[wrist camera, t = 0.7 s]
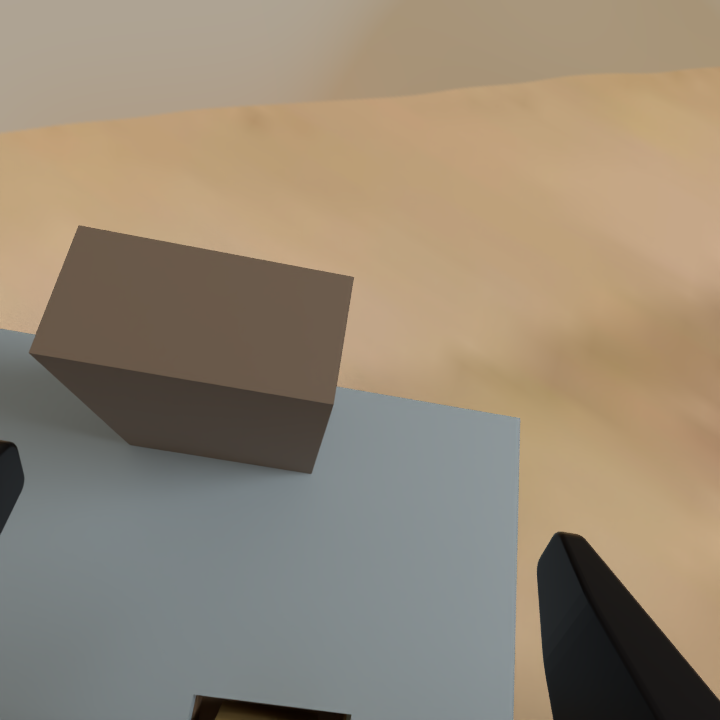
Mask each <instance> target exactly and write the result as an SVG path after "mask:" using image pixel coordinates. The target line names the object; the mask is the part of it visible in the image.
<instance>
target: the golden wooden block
mask: <svg viewBox="0 0 720 720" xmlns="http://www.w3.org/2000/svg"><path fill="white" fill-rule="evenodd" d="M215 720H318V717H317V714H316V712H311V711H303V710H295V709H287V708H279V707H271V706H263V705H255V704H247V703H239V702H231V701H223V703H222V705H221V707H220V709H219V712H218V714H217V716H216V718H215Z"/></svg>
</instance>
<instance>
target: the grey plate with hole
mask: <svg viewBox="0 0 720 720" xmlns="http://www.w3.org/2000/svg"><path fill="white" fill-rule="evenodd" d="M353 280H354V277H351V276H345V275H340V274H335V273H329V272H324V271H319V270H313V269H308V268H303V267H297V266H292V265H287V264H281V263H276V262H271V261H265V260H260V259H255V258H249V257H244V256H239V255H234V254H228V253H223V252H218V251H212V250H207V249H202V248H196V247H191V246H186V245H180V244H175V243H170V242H164V241H159V240H154V239H148V238H143V237H138V236H132V235H127V234H122V233H117V232H111V231H106V230H101V229H95V228H90V227H85V226H78V228H77V231H76V234H75V236H74V239H73V241H72V244H71V246H70V249H69V251H68V254H67V256H66V259H65V261H64V264H63V267H62V269H61V272H60V274H59V277H58V279H57V282H56V284H55V287H54V289H53V292H52V294H51V297H50V299H49V302H48V305H47V307H46V310H45V312H44V315H43V317H42V320H41V322H40V325H39V327H38V330H37V332H36V335H34V334H28V333H22V332H17V331H11V330H5V329H0V440H4V441H10V442H13V443H14V444H15V445H16V446H17V448H18V452H19V456H20V460H21V464H22V468H23V472H24V486H23V489H22V492H21V494H20V496H19V498H18V500H17V502H16V504H15V506H14V508H13V510H12V512H11V514H10V516H9V518H8V520H7V523H6V525H5V527H4V529H3V531H2V533H1V535H0V720H191V718H192V713H193V708H194V704H195V699H196V695H201V696H209V697H217V698H225V699H233V700H241V701H249V702H257V703H265V704H272V705H280V706H288V707H296V708H304V709H312V710H320V711H328V712H336V713H344V714H347V716H346V720H513V709H514V665H515V622H516V579H517V535H518V492H519V448H520V418H516V417H510V416H504V415H498V414H493V413H487V412H481V411H475V410H469V409H464V408H458V407H452V406H446V405H440V404H435V403H429V402H423V401H417V400H411V399H406V398H400V397H394V396H388V395H382V394H377V393H371V392H365V391H359V390H353V389H348V388H342V387H337V381H338V374H339V368H340V362H341V355H342V349H343V343H344V336H345V330H346V324H347V317H348V311H349V305H350V299H351V292H352V286H353Z"/></svg>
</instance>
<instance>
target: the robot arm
mask: <svg viewBox="0 0 720 720" xmlns="http://www.w3.org/2000/svg"><path fill="white" fill-rule="evenodd" d="M23 486H24V472H23V468H22V464H21V460H20V456H19V452H18V448H17V446H16V445H15V444H14V443H13V442H10V441H4V440H0V535H1V533H2V531H3V529H4V527H5V525H6V523H7V520H8V518H9V516H10V514H11V512H12V510H13V508H14V506H15V504H16V502H17V500H18V498H19V496H20V494H21V492H22V489H23ZM537 582H538V596H539V610H540V624H541V638H542V651H543V661H544V668H545V675H546V681H547V686H548V692H549V698H550V703H551V709H552V714H553V720H720V700H719V699H718V698H717V697H716V696H715V694H714V693H713V692H712V691H711V690H710V688H709V687H708V686H707V685H706V684H705V682H704V681H703V680H702V679H701V678H700V676H699V675H698V674H697V673H696V672H695V670H694V669H693V668H692V667H691V666H690V664H689V663H688V662H687V661H686V659H685V658H684V657H683V656H682V655H681V653H680V652H679V651H678V650H677V649H676V647H675V646H674V645H673V644H672V643H671V641H670V640H669V639H668V638H667V637H666V635H665V634H664V633H663V632H662V631H661V629H660V628H659V627H658V626H657V625H656V623H655V622H654V621H653V620H652V619H651V617H650V616H649V615H648V614H647V613H646V611H645V610H644V609H643V608H642V607H641V605H640V604H639V603H638V602H637V601H636V599H635V598H634V597H633V596H632V595H631V593H630V592H629V591H628V590H627V589H626V587H625V586H624V585H623V584H622V583H621V581H620V580H619V579H618V578H617V577H616V575H615V574H614V573H613V572H612V571H611V569H610V568H609V567H608V566H607V565H606V563H605V562H604V561H603V560H602V559H601V557H600V556H599V555H598V554H597V553H596V551H595V550H594V549H593V548H592V547H591V545H590V544H589V543H588V542H587V541H586V540H585V539H584V538H583V537H582V536H580V535H578V534H573V533H567V532H557V533H555V534H554V536H553V537H552V539H551V540H550V542H549V544H548V545H547V547H546V549H545V550H544V552H543V554H542V555H541V557H540V559H539V562H538V566H537Z"/></svg>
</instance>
